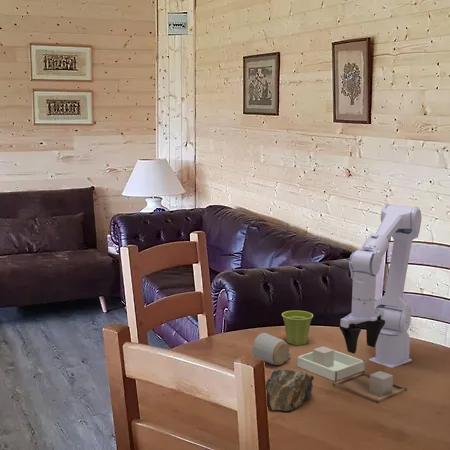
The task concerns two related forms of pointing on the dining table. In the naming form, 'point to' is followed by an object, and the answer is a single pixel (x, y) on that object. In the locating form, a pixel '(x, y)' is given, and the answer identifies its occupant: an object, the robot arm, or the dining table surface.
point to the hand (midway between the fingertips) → (361, 349)
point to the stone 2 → (381, 383)
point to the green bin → (340, 370)
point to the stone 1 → (323, 356)
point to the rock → (288, 389)
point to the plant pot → (297, 326)
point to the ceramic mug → (270, 349)
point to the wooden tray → (365, 387)
